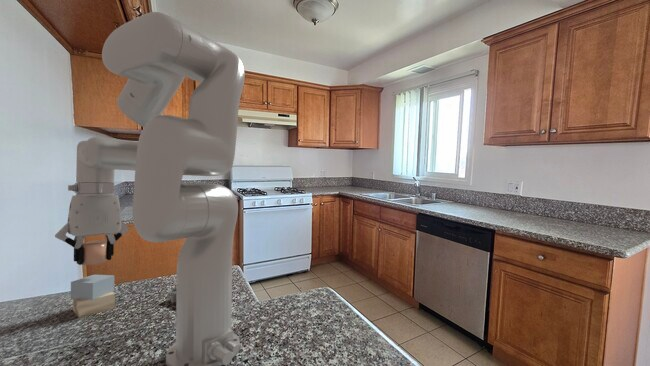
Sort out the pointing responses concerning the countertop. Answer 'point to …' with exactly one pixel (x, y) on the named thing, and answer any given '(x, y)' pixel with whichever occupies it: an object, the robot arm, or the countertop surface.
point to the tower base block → (94, 305)
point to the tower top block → (92, 287)
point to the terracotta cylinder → (95, 252)
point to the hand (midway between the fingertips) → (94, 260)
